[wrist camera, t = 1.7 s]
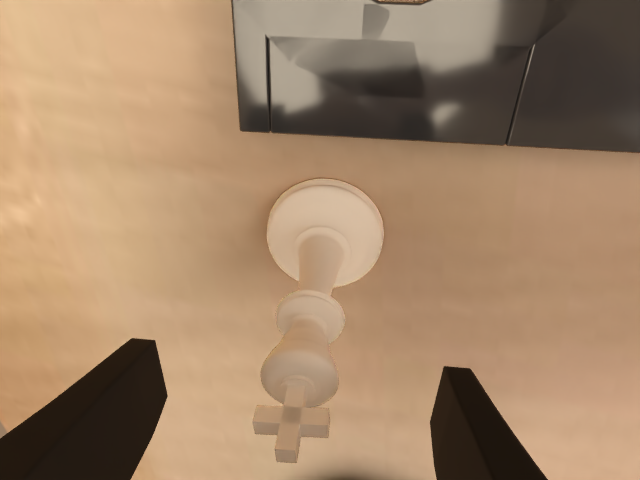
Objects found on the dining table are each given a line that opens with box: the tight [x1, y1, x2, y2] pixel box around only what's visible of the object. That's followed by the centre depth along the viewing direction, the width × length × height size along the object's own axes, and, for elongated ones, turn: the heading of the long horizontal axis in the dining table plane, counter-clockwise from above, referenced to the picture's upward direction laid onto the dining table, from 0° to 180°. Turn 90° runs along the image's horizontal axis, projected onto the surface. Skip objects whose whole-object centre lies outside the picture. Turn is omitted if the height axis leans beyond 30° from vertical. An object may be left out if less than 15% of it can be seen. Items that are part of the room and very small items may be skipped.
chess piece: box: [253, 179, 384, 463], centre depth 13 cm, size 5×5×10 cm
